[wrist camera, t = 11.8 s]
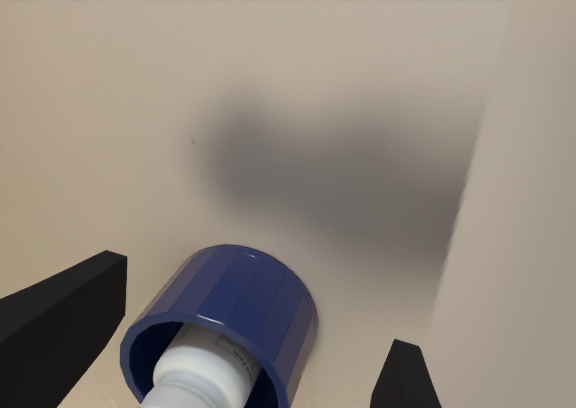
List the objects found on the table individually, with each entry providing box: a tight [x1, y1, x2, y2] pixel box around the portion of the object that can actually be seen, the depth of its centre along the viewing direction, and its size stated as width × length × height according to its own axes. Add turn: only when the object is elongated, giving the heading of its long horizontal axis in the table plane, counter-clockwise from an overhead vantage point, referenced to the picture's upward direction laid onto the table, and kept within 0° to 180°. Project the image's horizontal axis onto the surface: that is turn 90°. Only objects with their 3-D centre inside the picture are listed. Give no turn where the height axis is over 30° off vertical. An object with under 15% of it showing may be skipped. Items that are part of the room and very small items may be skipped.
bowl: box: [120, 245, 317, 408], centre depth 25 cm, size 8×8×6 cm
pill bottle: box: [139, 322, 262, 408], centre depth 23 cm, size 4×4×8 cm
